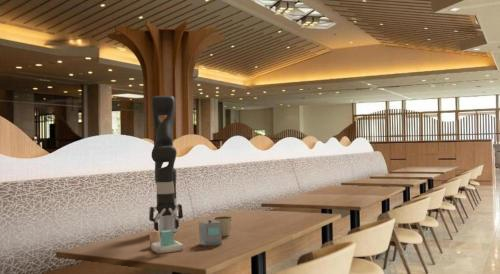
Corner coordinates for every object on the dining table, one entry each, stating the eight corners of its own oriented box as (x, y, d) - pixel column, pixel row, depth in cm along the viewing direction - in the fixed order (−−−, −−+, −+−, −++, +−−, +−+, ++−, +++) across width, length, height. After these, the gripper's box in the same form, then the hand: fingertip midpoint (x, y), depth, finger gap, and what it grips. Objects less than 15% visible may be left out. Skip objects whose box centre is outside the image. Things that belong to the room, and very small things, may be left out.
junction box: (199, 244, 232) (198, 220, 232) (216, 241, 235) (215, 218, 235) (205, 246, 225) (204, 222, 225) (222, 244, 229) (221, 220, 229)
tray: (151, 248, 225) (151, 243, 225) (175, 245, 229) (175, 240, 229) (158, 253, 215) (157, 247, 215) (183, 250, 219) (183, 244, 219)
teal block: (160, 247, 223) (160, 230, 223) (170, 245, 225) (170, 229, 225) (163, 248, 219) (163, 232, 219) (173, 247, 221) (173, 231, 221)
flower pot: (215, 237, 246) (215, 219, 246) (211, 234, 255) (211, 217, 255) (234, 236, 248) (234, 218, 248) (230, 233, 257) (229, 215, 257)
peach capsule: (148, 246, 230) (148, 231, 230) (158, 245, 232) (158, 229, 232) (151, 248, 226) (150, 232, 226) (161, 247, 228) (160, 231, 228)
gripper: (178, 190, 228) (179, 226, 229) (146, 192, 222) (148, 230, 223) (183, 191, 222) (185, 229, 222) (151, 194, 216) (152, 232, 216)
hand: (166, 229), depth 222 cm, fingers open, 8 cm apart
